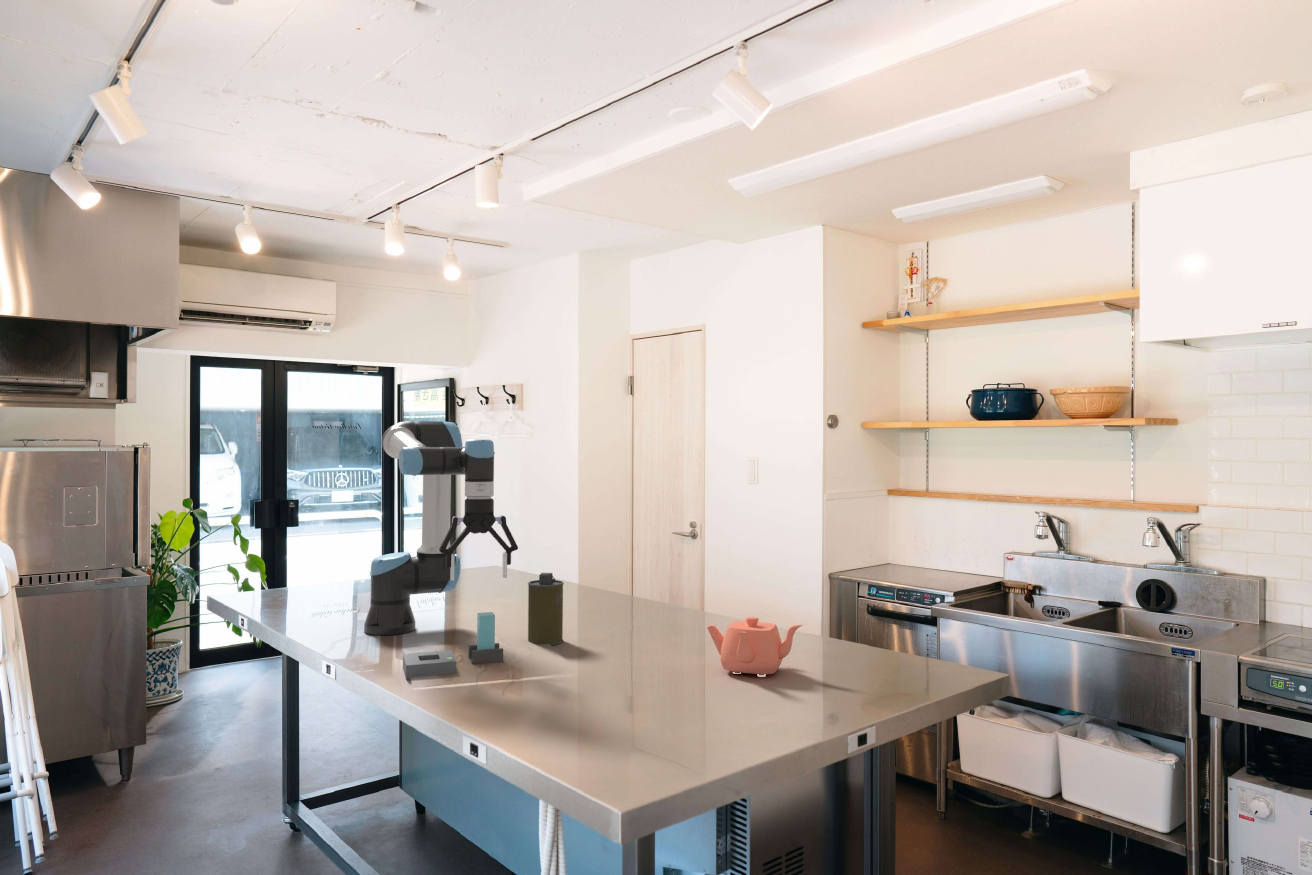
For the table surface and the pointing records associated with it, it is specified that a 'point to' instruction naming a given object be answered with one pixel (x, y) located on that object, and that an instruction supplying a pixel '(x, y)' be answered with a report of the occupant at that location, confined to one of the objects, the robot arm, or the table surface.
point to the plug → (485, 631)
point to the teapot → (752, 646)
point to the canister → (545, 610)
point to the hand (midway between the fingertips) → (478, 578)
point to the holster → (485, 654)
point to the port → (428, 663)
